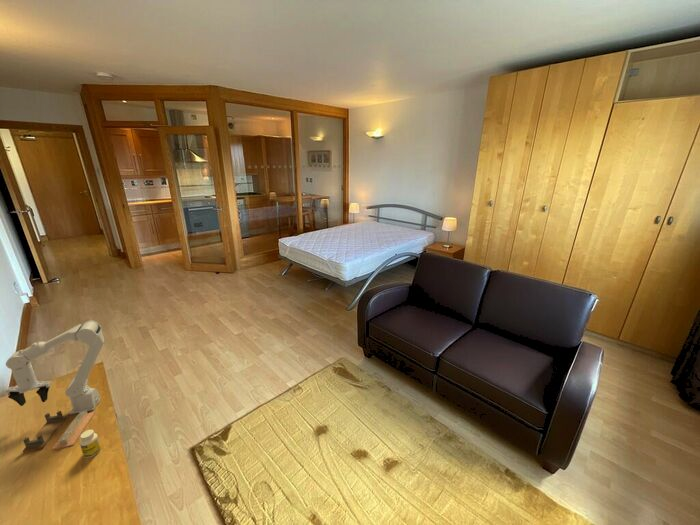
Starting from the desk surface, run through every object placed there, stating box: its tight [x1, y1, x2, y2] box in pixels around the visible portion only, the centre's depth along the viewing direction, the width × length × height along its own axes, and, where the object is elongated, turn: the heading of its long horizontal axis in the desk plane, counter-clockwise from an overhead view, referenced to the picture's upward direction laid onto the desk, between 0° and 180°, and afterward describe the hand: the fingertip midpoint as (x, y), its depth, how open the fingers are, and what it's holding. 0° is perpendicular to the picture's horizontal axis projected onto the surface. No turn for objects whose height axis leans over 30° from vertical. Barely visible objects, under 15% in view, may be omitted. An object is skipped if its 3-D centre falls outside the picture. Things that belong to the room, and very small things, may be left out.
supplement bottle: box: [79, 429, 102, 459], centre depth 114 cm, size 5×5×10 cm
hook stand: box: [22, 410, 68, 454], centre depth 122 cm, size 17×6×5 cm, turn 19°
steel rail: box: [58, 411, 89, 445], centre depth 125 cm, size 16×2×2 cm, turn 19°
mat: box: [51, 411, 96, 451], centre depth 125 cm, size 7×18×1 cm, turn 18°
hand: (34, 402), depth 128 cm, fingers open, 7 cm apart
